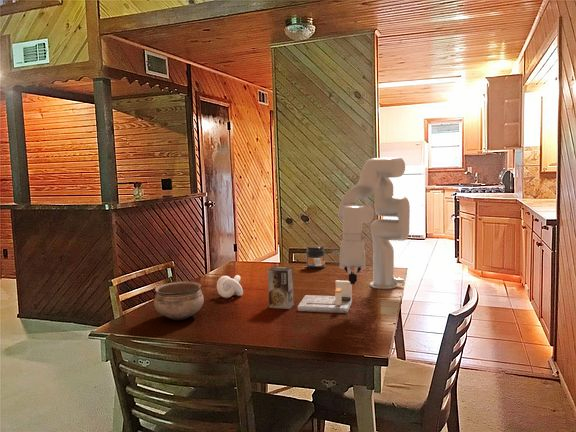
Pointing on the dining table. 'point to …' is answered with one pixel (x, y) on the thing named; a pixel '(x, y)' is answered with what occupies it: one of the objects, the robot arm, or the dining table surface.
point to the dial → (345, 289)
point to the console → (323, 304)
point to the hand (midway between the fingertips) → (352, 283)
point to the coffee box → (280, 287)
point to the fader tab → (338, 296)
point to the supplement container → (315, 257)
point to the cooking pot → (178, 299)
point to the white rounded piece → (229, 286)
